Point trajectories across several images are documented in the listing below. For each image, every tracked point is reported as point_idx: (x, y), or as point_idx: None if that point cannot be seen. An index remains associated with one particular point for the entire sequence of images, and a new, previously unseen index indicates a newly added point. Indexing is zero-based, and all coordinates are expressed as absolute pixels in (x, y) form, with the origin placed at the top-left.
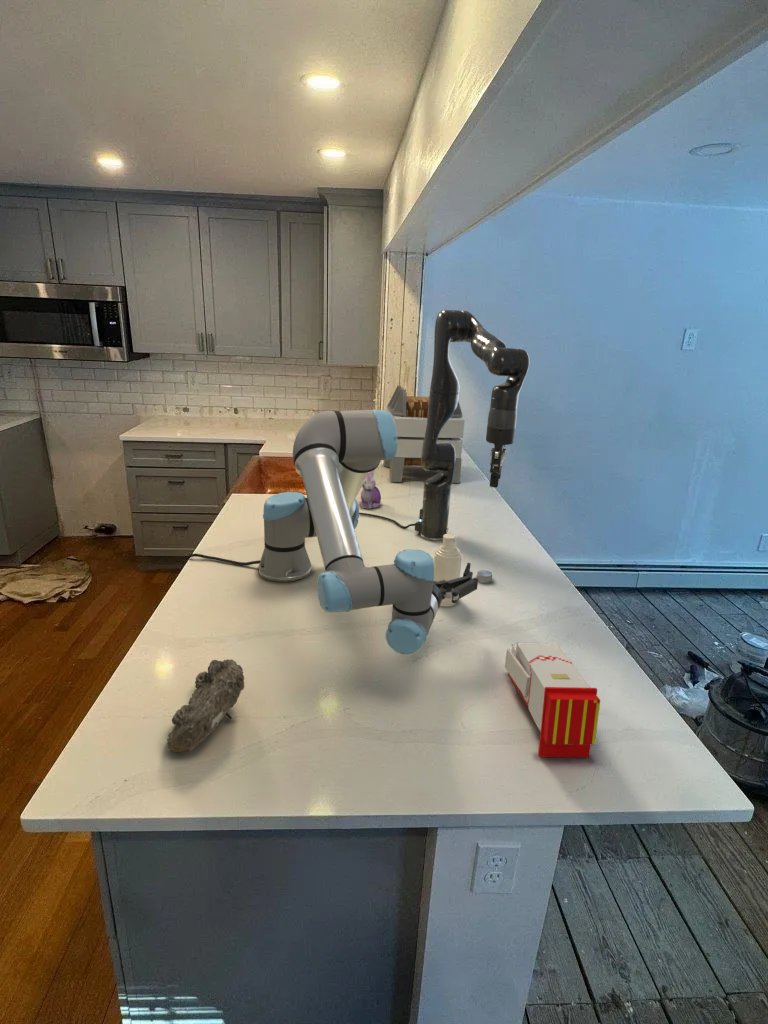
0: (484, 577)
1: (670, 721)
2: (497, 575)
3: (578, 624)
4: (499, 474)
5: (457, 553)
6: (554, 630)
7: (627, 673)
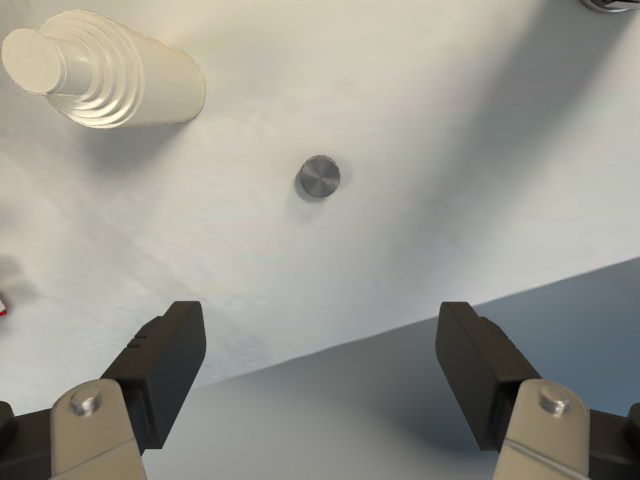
0: (301, 178)
1: None
2: (360, 204)
3: None
4: (449, 372)
5: (69, 113)
6: None
7: None
